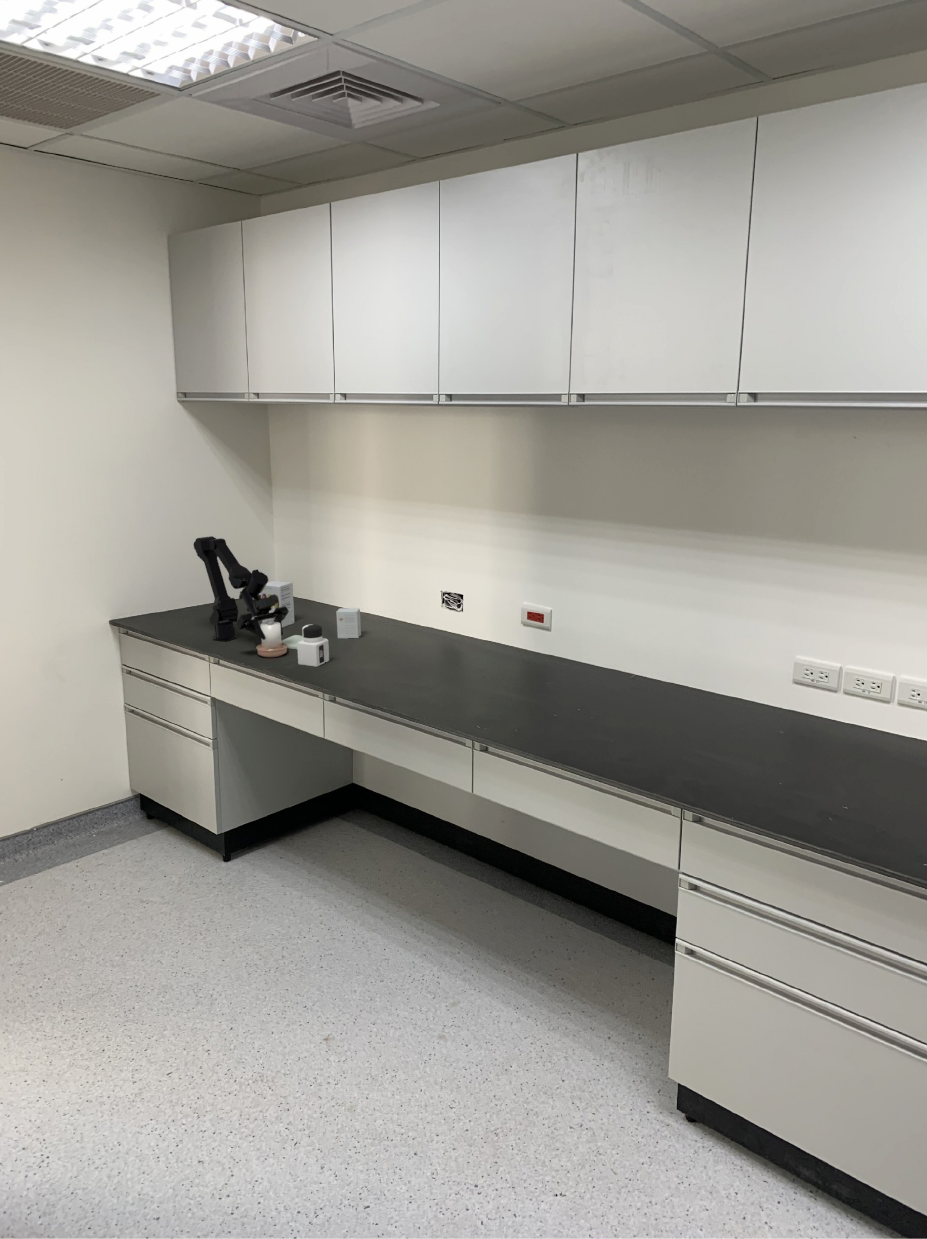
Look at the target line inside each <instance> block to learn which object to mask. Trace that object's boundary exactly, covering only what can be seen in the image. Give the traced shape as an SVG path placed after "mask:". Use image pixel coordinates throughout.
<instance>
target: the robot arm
mask: <svg viewBox="0 0 927 1239" xmlns="http://www.w3.org/2000/svg"><path fill="white" fill-rule="evenodd" d="M193 549H194V550H195V553H196V555H197V557H198V558H199V559H200V560H201V561H202V562H203V563H204V567H205V569H206V573H207V576H208V580H209V583H210V586H211V590H212V594H213V598H214V599H213V600H214V601H213V605H212V613H211V615H210V617H209V622H210V624H211V625H214V632H215V635H214V636H215V637H213V638H212V640H214V641H219V642H220V641H222V642H228V641H231V640H233V639H234V640H235V639H237V638H238V636H237V635H236V632H235V626H234V623H236V627H237V629H238V631H239V630H244V629H245V631H249V632H250V633H252V634H254V635H256V636H257V637H259V638H260V639H261V638H262V639H263V640H265V635H264V633H263V631H262V630H261V625H260V624H259V622H260V621H261V622H262V620H266V619H270V618H271V619H272V620H273V621H274V622H279V623H280V625H281V637H282V636H283V634H284V631H283V628H282V620H284V619H285V617H286V615H287V614H288V612H289V611H288V609H287V607H285V606H283V607H278V608H276V609H275V610H274V612H272V613H269V611H271V609H272V608H271V607H272V606H275V604H276V603H278V598H277V596H276V595H275V594H274V595H271V596H269V597H267V598H261V592H262V591H263V589H264V587H265V586H266V584H267V582H269V577H268V575H266V574H265V573H264V572H262V571H259V569H252V571H250V570H249V569H248V568H247V567H245V566H244V565H241V564H240V563H239V561H238V559H237V558H236V557H235V555H234V553H233V552H232V551H231V549H230V548H229V546H228V545H227V542H226V539H224V538H216V537H215V536H212V535H211V536H202V537H197V538H195V541H194V542H193ZM218 559H219V560H218ZM219 561H220V562H221V563H222V565H223V566H224V568H225V570H226V571H227V573H228V581H229V582H230V585H231V587H232V588H233V589H234V590H239V589H241V591H240V592H239V596H238V599H239V600H243V601H244V603H245V605H246V607H247V608H246V611H247V612H248V613H244V614H240V616H238V615H239V609H238V605H237V603H236V599H235V598H234V597H231V596H230V595H229V594H228V591H227V587H226V585H225V580H224V577H223V573H222V570H221V567H220V563H219Z"/></svg>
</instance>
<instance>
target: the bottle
mask: <svg viewBox="0 0 927 1239" xmlns="http://www.w3.org/2000/svg"><path fill="white" fill-rule="evenodd" d="M260 628H261V630H262V631H263V633H264V635H265V640H263V639H262V638H260V639H261V644H262V648H265V649H275V648H279V647H281V646H282V636H281V625H280V623H279V622H274V621H267V622H265V623H263V622H262V623H260Z"/></svg>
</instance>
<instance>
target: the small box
mask: <svg viewBox="0 0 927 1239" xmlns="http://www.w3.org/2000/svg"><path fill="white" fill-rule="evenodd" d="M335 613H336V630H337V632H336V633H337V634H336V635H337V639H348V638H358V639H359V638H360V637H361V635H362V626H361V625H362V624H361V622H362V621H361V609H360V607H359V608H355V607H354V608H352V607H351V608H350V607H345V608H344V607H340V608H338V610H336V612H335ZM359 636H360V637H359Z"/></svg>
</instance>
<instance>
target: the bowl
mask: <svg viewBox="0 0 927 1239" xmlns="http://www.w3.org/2000/svg"><path fill="white" fill-rule="evenodd" d="M256 650H257V655H259V656H261V657H264V658H277V657H282V656H283V655H284V654H285V655H286V653H287V651H288V648H287V644H285V643H282V646H281V647H279V648H275V649H265V648H262V643H260V644H258V645H257V646H256Z"/></svg>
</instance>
